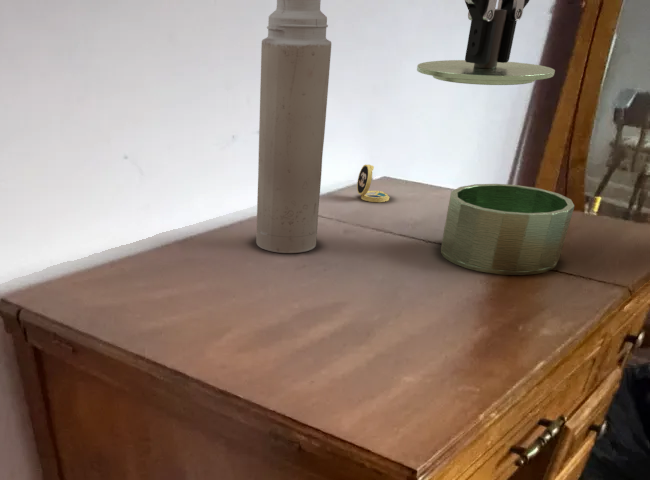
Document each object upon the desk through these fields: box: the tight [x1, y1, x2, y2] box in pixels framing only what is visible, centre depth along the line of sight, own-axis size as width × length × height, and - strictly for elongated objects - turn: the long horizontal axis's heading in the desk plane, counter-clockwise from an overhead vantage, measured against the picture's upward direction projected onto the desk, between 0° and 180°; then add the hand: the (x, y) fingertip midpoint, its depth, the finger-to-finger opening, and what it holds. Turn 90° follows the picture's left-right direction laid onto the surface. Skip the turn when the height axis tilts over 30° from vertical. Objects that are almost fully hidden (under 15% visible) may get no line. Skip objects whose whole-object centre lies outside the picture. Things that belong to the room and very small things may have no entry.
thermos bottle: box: [255, 0, 332, 254], centre depth 87 cm, size 8×8×28 cm
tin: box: [440, 183, 575, 276], centre depth 91 cm, size 15×15×7 cm
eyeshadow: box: [356, 164, 390, 203], centre depth 113 cm, size 4×5×5 cm
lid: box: [416, 8, 556, 86], centre depth 83 cm, size 16×16×7 cm
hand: (486, 60), depth 84 cm, fingers closed on lid, 2 cm apart
